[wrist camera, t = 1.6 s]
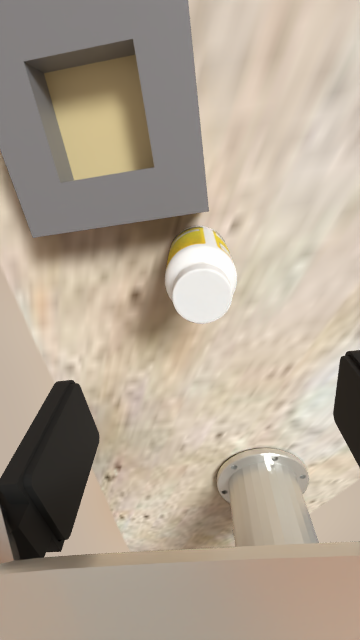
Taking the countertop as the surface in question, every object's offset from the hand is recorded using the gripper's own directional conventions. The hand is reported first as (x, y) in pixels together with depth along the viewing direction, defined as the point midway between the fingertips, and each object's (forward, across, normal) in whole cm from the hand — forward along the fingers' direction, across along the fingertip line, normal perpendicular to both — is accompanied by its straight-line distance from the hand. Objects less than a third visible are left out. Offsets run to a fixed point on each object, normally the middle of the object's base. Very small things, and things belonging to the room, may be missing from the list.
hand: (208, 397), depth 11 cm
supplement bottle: (+20, 0, +1) cm, 20 cm away
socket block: (+20, +6, -11) cm, 23 cm away
